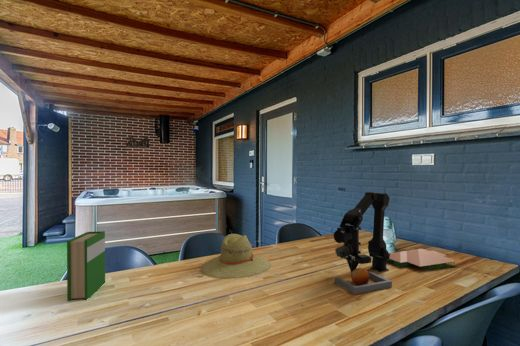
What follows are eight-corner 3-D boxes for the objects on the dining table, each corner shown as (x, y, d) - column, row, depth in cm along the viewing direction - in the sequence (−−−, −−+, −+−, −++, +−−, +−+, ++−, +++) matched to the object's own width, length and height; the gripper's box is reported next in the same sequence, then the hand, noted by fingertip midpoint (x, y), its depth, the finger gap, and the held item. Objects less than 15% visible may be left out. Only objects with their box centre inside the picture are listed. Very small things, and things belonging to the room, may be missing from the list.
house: (460, 266, 152) (460, 251, 152) (413, 274, 141) (413, 257, 141) (423, 255, 173) (423, 241, 173) (380, 260, 163) (380, 246, 163)
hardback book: (87, 300, 113) (87, 240, 113) (67, 301, 112) (66, 240, 112) (105, 283, 131) (104, 231, 131) (87, 284, 130) (87, 231, 130)
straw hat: (281, 260, 165) (281, 230, 165) (252, 285, 128) (252, 247, 128) (225, 253, 180) (225, 226, 180) (185, 273, 143) (184, 240, 143)
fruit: (375, 284, 123) (365, 268, 124) (359, 292, 125) (349, 276, 126) (372, 278, 131) (362, 262, 132) (357, 285, 133) (347, 270, 134)
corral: (369, 276, 137) (369, 271, 137) (391, 286, 124) (391, 281, 124) (334, 282, 130) (334, 277, 130) (354, 294, 117) (354, 288, 117)
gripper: (326, 237, 139) (326, 268, 139) (351, 246, 122) (351, 282, 122) (345, 235, 143) (345, 265, 143) (372, 243, 126) (372, 279, 126)
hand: (352, 272), depth 133 cm, fingers closed
